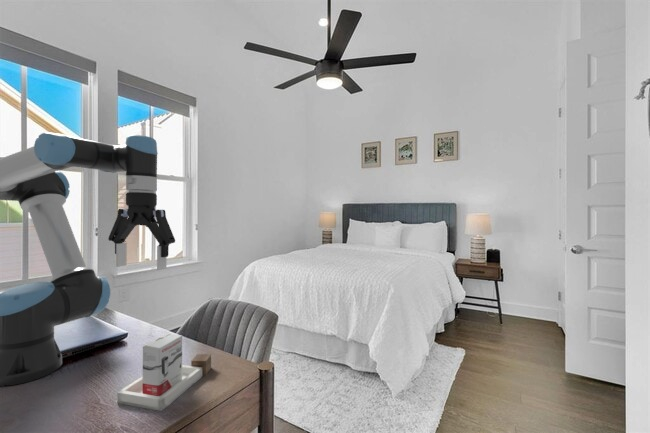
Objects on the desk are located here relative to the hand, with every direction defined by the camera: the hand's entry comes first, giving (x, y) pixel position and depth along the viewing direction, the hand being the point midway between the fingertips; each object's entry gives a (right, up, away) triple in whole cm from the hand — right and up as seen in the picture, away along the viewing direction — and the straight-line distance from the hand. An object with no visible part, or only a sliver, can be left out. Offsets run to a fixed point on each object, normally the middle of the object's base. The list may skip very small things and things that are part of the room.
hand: (141, 267), depth 89 cm
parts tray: (+11, -29, -10) cm, 33 cm away
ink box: (+11, -28, -10) cm, 32 cm away
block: (+17, -29, -1) cm, 34 cm away
